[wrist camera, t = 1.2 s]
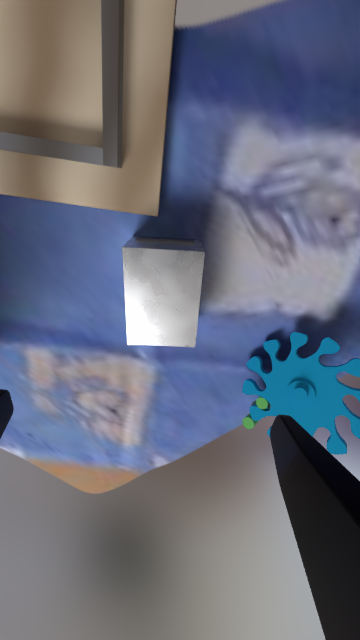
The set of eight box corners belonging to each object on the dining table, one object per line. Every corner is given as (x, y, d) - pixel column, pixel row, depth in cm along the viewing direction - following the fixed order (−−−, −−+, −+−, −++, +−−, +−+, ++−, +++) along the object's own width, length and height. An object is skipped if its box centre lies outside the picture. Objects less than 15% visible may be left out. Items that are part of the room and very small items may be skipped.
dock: (-50, 185, 16) (-80, 184, 14) (-185, -312, 9) (-286, -451, 7) (158, 215, 17) (155, 218, 15) (194, -212, 10) (198, -310, 8)
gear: (321, 307, 19) (419, 436, 16) (326, 313, 24) (401, 412, 21) (212, 371, 24) (268, 479, 21) (234, 365, 29) (283, 452, 25)
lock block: (135, 320, 22) (127, 345, 18) (133, 233, 18) (122, 244, 15) (192, 322, 22) (194, 348, 18) (200, 237, 18) (205, 249, 15)
